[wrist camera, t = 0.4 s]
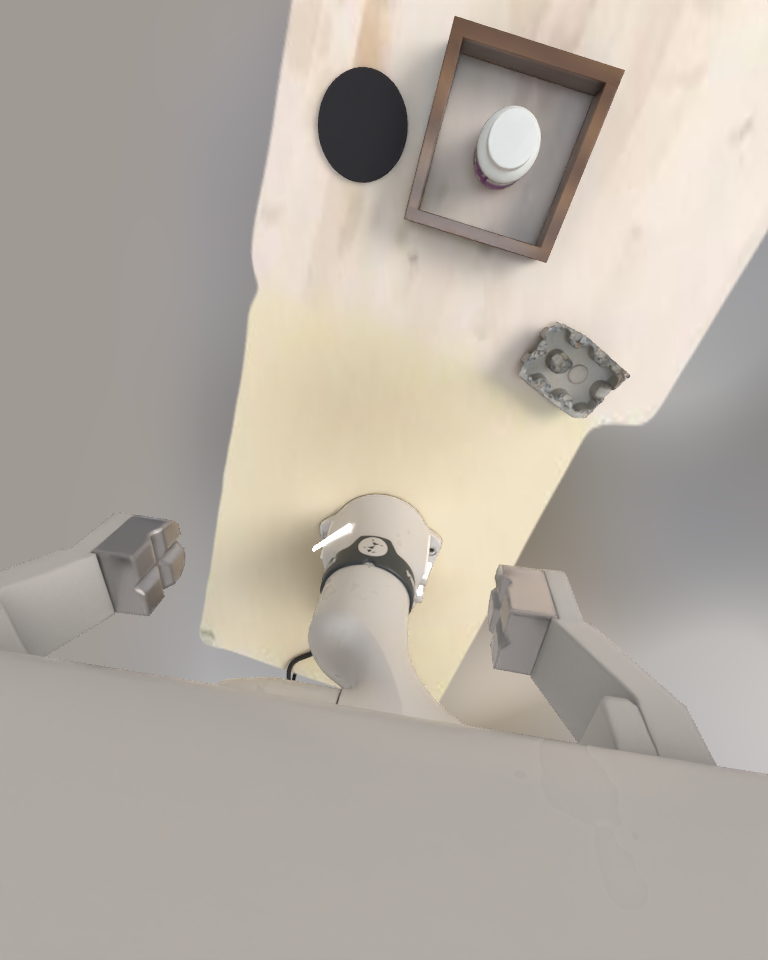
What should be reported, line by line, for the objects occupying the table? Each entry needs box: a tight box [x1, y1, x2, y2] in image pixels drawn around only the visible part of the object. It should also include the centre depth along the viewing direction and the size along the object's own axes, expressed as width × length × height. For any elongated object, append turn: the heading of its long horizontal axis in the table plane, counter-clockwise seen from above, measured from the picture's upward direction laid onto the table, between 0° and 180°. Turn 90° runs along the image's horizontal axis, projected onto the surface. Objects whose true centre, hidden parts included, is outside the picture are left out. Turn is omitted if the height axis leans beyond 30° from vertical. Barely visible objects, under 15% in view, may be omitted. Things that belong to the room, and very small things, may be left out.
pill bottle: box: [474, 106, 541, 190], centre depth 39 cm, size 5×5×10 cm
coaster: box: [318, 67, 408, 182], centre depth 43 cm, size 9×9×1 cm
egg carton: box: [519, 322, 630, 418], centre depth 50 cm, size 11×8×4 cm
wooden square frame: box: [404, 16, 625, 263], centre depth 41 cm, size 15×15×4 cm
